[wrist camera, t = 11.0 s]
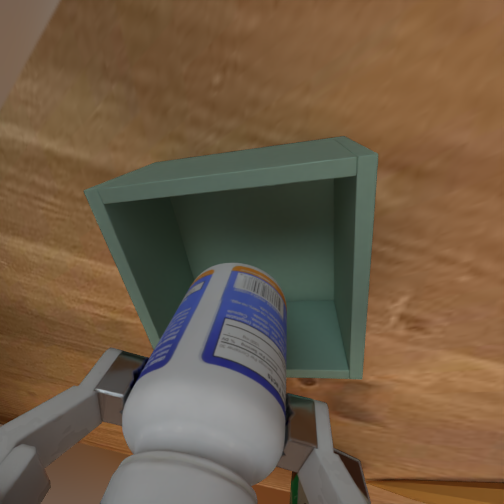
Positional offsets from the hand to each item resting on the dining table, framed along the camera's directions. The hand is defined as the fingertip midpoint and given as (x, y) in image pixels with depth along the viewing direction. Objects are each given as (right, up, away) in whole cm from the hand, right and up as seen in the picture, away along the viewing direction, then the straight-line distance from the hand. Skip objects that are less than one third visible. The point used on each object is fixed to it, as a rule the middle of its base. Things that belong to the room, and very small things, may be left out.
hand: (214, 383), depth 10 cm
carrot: (+26, -25, +25) cm, 45 cm away
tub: (+2, +6, +11) cm, 13 cm away
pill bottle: (+1, +2, +5) cm, 5 cm away
